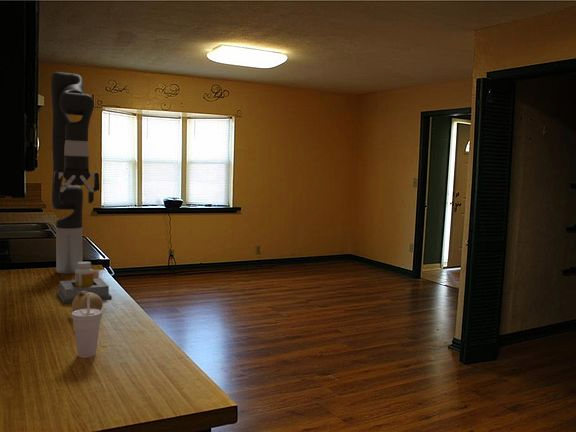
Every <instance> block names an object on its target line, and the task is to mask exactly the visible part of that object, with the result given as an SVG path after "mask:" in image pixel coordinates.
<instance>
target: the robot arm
mask: <svg viewBox="0 0 576 432" xmlns="http://www.w3.org/2000/svg"><path fill="white" fill-rule="evenodd" d="M84 87H85V86H84V80H83V78H82V76H81V75H79V74H76V73H72V72H62V71H54V72H53V73H52V74H51V78H50V90H51V91H50V92H51V93H50V94H51V105H52V106H51V107H52V133H51V134H52V136H51V139H52V141H51V142H52V144H51V145H52V185H51V186H52V188H51V203H52V204H51V205H52V207H53V209H54V210H58V211H59V210H61V211H62V210H64V211H65V210H66V211H67V210H69V211H70V210H72V213H70V214H68V215H67V216H65V217H62V218H59V219H57V220H56V221H55V222H56V225H55V227H56V229H55V230H56V238H55V239H56V242H55V245H56V247H55V249H56V251H55V252H56V254H55V255H56V256H55V257H56V269H55V271H56V273H58V274H68V275H69V274H75V271H76V270H77V269H78V266H77V264H78V262H83V205H84V204H83V203H84V192H83V191H84V190H83V188H82V186H83V185H84V186H85V188H86V189H87V190H88V193H87V194H88V195H87V196H88V198H87V199H88V200H87V201H88V203H87V204H92V203H93V202H94V200H95V199H94V197H95V195H94V194H95V192H96V191H100V175H99V173H98V172H97V171H95V172H90V169H89V168H90V150H89V149H90V147H89V127H90V126H89V125H90V121H91V119H92V118H91V117H92V115H93V111H94V108H95V101H94V98H93V97H92V96H91V95H90V94H87V93H85V92H84V89H85V88H84ZM69 115H70V116H71V115H72V116H81V119H80V120H78V121H72V120H71V119H70V117H69ZM90 177H91V179H92V180H93V185H94V186H93V187H92V186H91V184H90V183H89V181H88V180H89V178H90ZM63 178H64V179H65V180H64V182H63Z"/></svg>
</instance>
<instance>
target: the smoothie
mask: <svg viewBox="0 0 576 432" xmlns="http://www.w3.org/2000/svg"><path fill="white" fill-rule="evenodd" d="M102 317H103V311H102V309H101V310H99V309H90V293H87V309H80V310H76V311H74V312H73V311H72V312H71V320H72V323H73V330H74V335H75V336H74V338H75V344H76V352H77V357H78V358H82V359H87V358H88V359H89V358H93V357H95V356H96V354H97V347H98V340H99V333H100V325H101V318H102Z"/></svg>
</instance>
